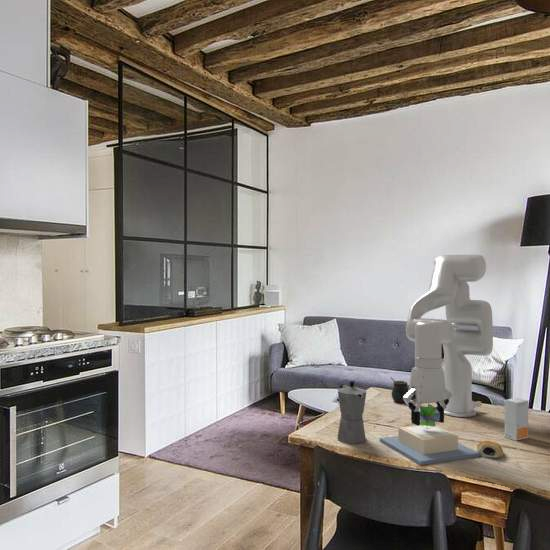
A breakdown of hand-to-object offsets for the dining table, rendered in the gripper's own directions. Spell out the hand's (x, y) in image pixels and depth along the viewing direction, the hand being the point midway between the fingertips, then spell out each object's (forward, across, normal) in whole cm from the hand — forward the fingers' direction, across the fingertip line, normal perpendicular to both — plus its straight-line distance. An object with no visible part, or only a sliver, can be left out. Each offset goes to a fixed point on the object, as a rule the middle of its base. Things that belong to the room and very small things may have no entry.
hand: (427, 422), depth 142 cm
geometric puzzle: (+2, 0, 0) cm, 2 cm away
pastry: (+8, -14, +9) cm, 19 cm away
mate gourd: (+8, -24, -49) cm, 55 cm away
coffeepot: (+8, +17, -16) cm, 25 cm away
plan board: (+8, 0, 0) cm, 8 cm away
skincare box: (+8, -33, +1) cm, 34 cm away
